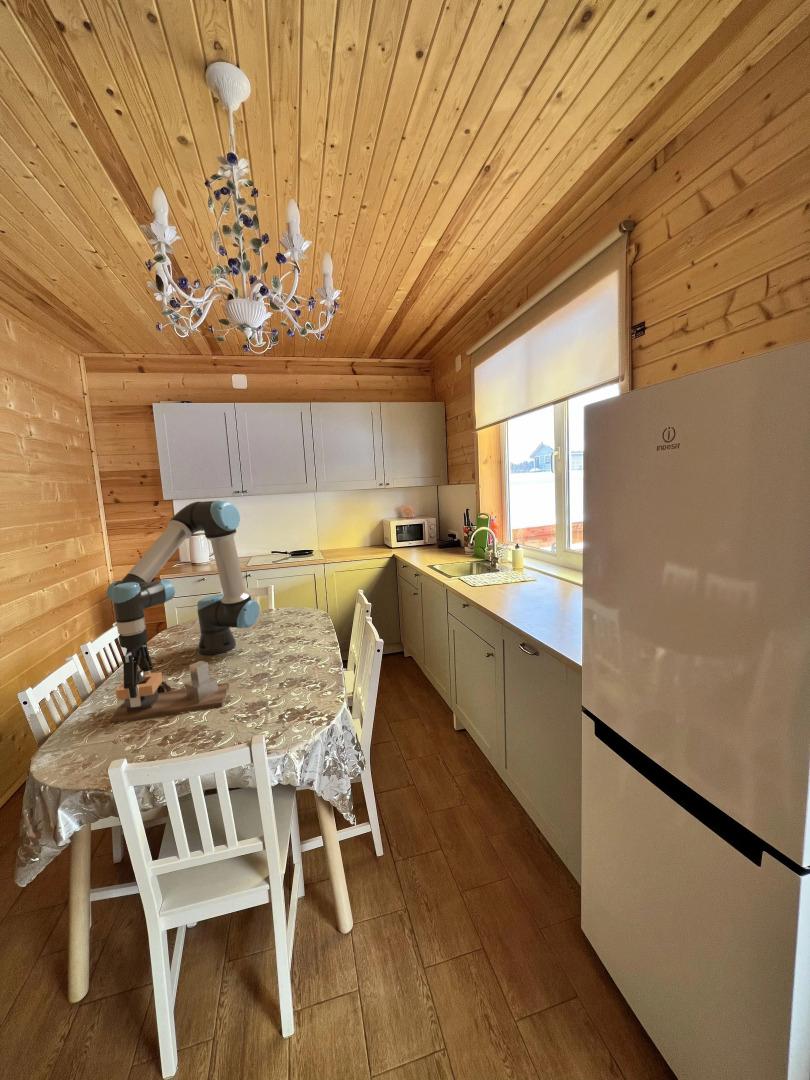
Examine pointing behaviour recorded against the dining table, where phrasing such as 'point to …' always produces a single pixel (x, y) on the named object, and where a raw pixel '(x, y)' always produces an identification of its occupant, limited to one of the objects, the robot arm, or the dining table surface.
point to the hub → (201, 683)
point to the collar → (142, 686)
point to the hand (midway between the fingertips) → (142, 697)
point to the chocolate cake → (163, 687)
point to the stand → (145, 700)
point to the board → (171, 705)
